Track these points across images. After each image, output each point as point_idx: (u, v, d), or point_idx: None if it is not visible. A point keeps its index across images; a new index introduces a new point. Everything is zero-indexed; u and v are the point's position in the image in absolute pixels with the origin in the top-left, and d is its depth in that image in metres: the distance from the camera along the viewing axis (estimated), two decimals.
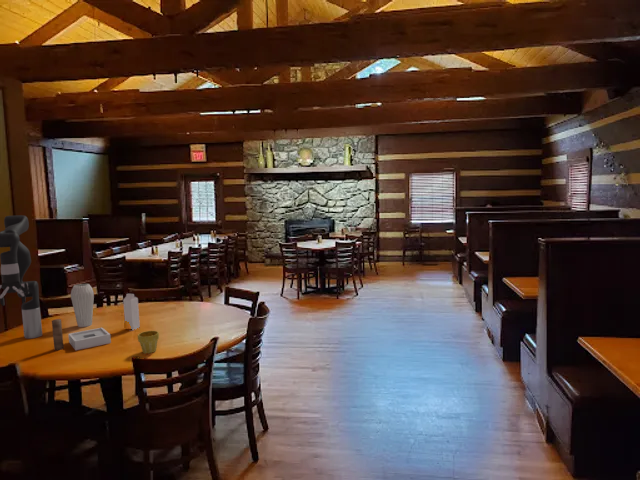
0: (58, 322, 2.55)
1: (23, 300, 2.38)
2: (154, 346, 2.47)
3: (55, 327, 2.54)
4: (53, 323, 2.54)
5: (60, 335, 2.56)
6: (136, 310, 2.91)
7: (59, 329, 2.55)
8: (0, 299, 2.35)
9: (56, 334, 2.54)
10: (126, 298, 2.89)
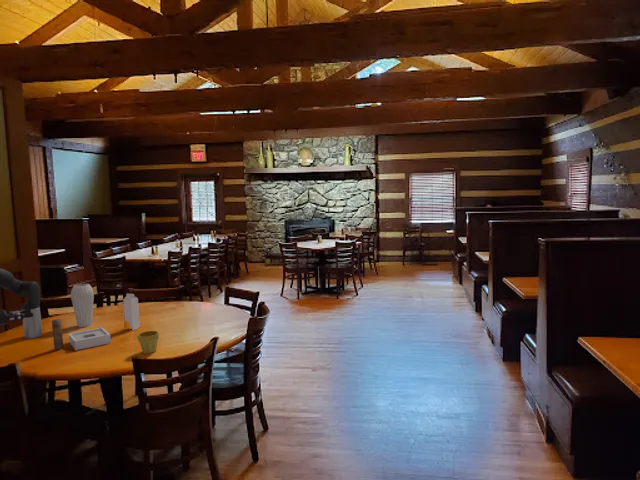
0: (58, 322, 2.55)
1: (29, 316, 2.44)
2: (154, 346, 2.47)
3: (55, 327, 2.54)
4: (53, 323, 2.54)
5: (60, 335, 2.56)
6: (136, 310, 2.91)
7: (59, 329, 2.55)
8: (23, 313, 2.50)
9: (56, 334, 2.54)
10: (126, 298, 2.89)
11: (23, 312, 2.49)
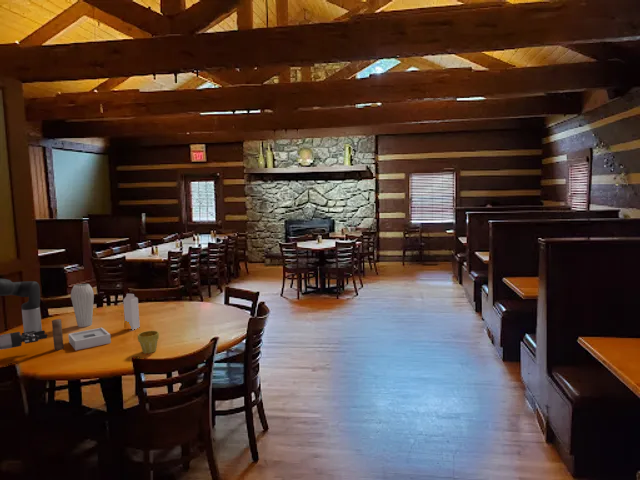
0: (58, 322, 2.55)
1: (43, 338, 2.49)
2: (154, 346, 2.47)
3: (55, 327, 2.54)
4: (53, 323, 2.54)
5: (60, 335, 2.56)
6: (136, 310, 2.91)
7: (59, 329, 2.55)
8: None
9: (56, 334, 2.54)
10: (126, 298, 2.89)
11: (37, 333, 2.54)
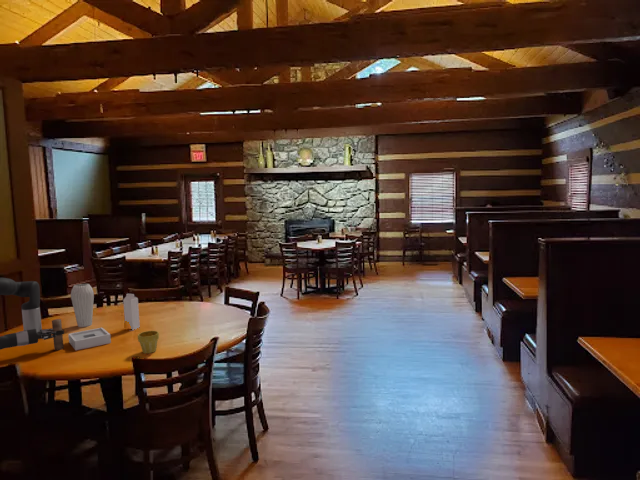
0: (58, 322, 2.55)
1: (61, 334, 2.55)
2: (154, 346, 2.47)
3: (55, 327, 2.54)
4: (53, 323, 2.54)
5: (60, 335, 2.56)
6: (136, 310, 2.91)
7: (59, 329, 2.55)
8: None
9: None
10: (126, 298, 2.89)
11: None
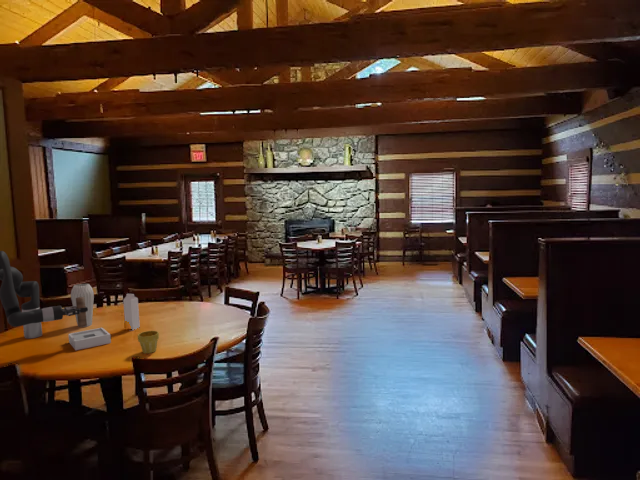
0: (82, 300, 2.61)
1: (84, 311, 2.61)
2: (154, 346, 2.47)
3: (78, 305, 2.60)
4: (77, 300, 2.60)
5: (84, 312, 2.62)
6: (136, 310, 2.91)
7: (83, 306, 2.61)
8: None
9: None
10: (126, 298, 2.89)
11: None
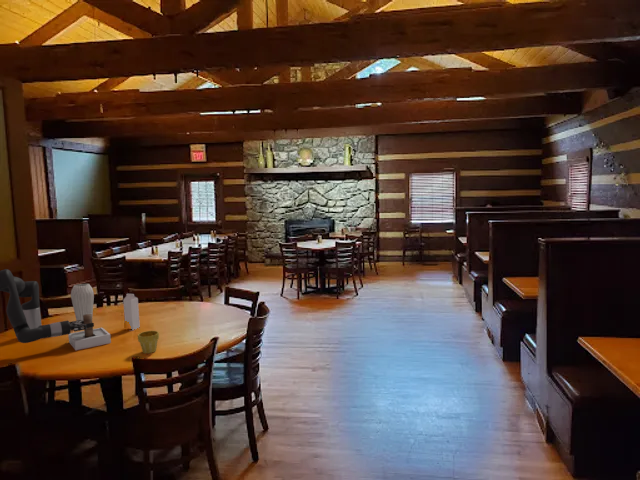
0: (89, 317, 2.64)
1: (90, 326, 2.62)
2: (154, 346, 2.47)
3: (86, 322, 2.63)
4: (84, 318, 2.63)
5: (91, 329, 2.65)
6: (136, 310, 2.91)
7: None
8: (83, 323, 2.69)
9: (87, 328, 2.64)
10: (126, 298, 2.89)
11: None
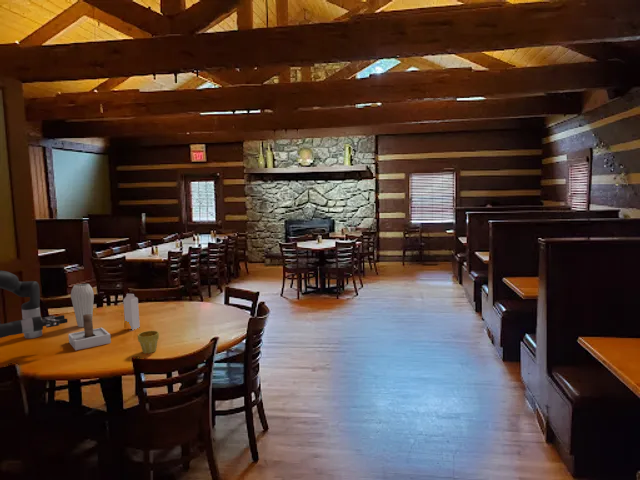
0: (89, 317, 2.64)
1: (64, 322, 2.54)
2: (154, 346, 2.47)
3: (86, 322, 2.63)
4: (84, 318, 2.63)
5: (91, 329, 2.65)
6: (136, 310, 2.91)
7: (90, 323, 2.64)
8: None
9: (87, 328, 2.64)
10: (126, 298, 2.89)
11: (57, 318, 2.60)
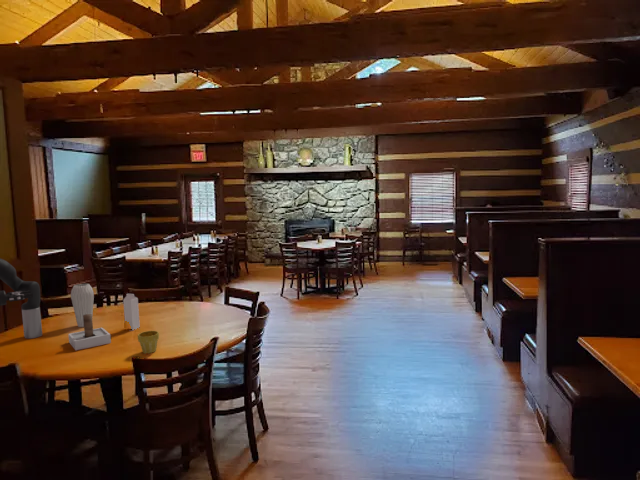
0: (89, 317, 2.64)
1: (29, 297, 2.44)
2: (154, 346, 2.47)
3: (86, 322, 2.63)
4: (84, 318, 2.63)
5: (91, 329, 2.65)
6: (136, 310, 2.91)
7: (90, 323, 2.64)
8: None
9: (87, 328, 2.64)
10: (126, 298, 2.89)
11: (23, 293, 2.50)
